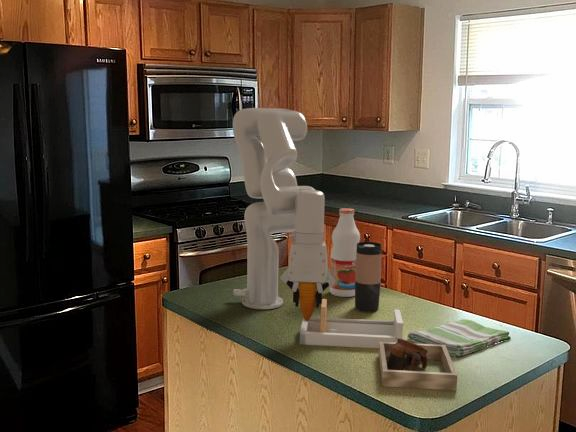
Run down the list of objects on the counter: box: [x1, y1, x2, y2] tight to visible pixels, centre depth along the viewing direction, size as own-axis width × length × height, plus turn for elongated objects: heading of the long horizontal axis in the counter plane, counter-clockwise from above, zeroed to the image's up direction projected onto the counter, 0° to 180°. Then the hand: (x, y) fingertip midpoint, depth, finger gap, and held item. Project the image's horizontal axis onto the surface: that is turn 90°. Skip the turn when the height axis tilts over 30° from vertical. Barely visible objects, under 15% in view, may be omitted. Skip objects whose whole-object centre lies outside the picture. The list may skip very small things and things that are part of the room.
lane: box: [299, 309, 404, 349], centre depth 169 cm, size 26×11×7 cm, turn 85°
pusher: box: [320, 298, 337, 333], centre depth 169 cm, size 4×7×9 cm, turn 175°
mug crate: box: [378, 342, 458, 391], centre depth 149 cm, size 16×18×4 cm
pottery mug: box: [386, 338, 428, 371], centre depth 149 cm, size 12×10×8 cm
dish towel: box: [407, 318, 512, 359], centre depth 171 cm, size 17×23×4 cm
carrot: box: [298, 282, 318, 321], centre depth 168 cm, size 5×5×15 cm
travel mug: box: [354, 241, 383, 313], centre depth 194 cm, size 8×8×20 cm
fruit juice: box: [329, 207, 361, 298], centre depth 208 cm, size 9×9×28 cm
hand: (307, 305), depth 169 cm, fingers closed on carrot, 4 cm apart
